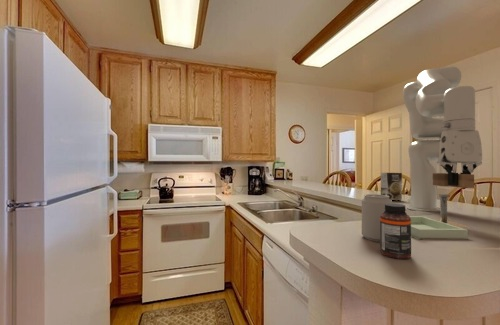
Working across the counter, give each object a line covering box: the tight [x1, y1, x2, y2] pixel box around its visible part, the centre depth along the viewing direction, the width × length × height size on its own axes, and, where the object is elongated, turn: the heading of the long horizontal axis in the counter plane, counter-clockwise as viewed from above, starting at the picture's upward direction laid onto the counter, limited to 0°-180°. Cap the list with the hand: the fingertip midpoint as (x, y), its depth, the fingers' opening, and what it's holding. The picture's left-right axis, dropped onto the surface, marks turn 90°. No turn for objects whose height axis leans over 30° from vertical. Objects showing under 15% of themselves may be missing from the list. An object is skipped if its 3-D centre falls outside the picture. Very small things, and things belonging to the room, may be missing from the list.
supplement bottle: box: [379, 202, 412, 260], centre depth 54 cm, size 6×6×11 cm
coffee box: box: [380, 172, 403, 201], centre depth 138 cm, size 9×6×16 cm
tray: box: [409, 215, 469, 241], centre depth 73 cm, size 17×13×3 cm
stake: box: [436, 193, 473, 229], centre depth 81 cm, size 11×9×10 cm
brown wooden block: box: [432, 172, 475, 189], centre depth 78 cm, size 12×7×4 cm, turn 179°
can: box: [361, 193, 393, 243], centre depth 66 cm, size 8×8×12 cm
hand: (459, 184), depth 75 cm, fingers closed on brown wooden block, 3 cm apart
